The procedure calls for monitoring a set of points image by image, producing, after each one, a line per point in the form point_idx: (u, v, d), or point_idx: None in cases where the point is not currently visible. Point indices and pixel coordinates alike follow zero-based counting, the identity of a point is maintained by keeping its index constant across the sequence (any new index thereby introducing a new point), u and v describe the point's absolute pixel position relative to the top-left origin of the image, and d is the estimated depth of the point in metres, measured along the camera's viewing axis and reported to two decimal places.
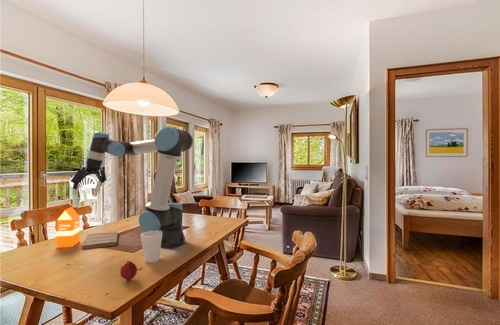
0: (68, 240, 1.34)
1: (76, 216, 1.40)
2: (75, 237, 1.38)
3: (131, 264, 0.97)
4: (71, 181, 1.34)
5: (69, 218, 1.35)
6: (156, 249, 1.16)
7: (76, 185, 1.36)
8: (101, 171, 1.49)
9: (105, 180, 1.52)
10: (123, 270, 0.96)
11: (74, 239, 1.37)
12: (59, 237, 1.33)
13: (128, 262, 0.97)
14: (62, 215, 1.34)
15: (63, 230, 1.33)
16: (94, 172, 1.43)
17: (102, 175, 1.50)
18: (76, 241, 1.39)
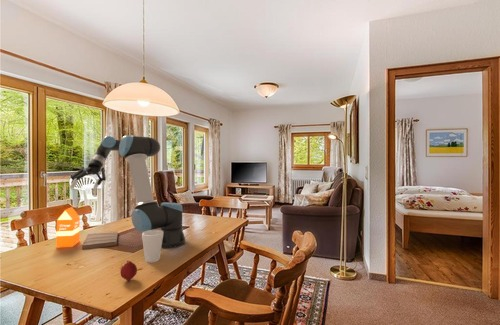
0: (68, 240, 1.34)
1: (76, 216, 1.40)
2: (75, 237, 1.38)
3: (131, 264, 0.97)
4: (71, 178, 1.56)
5: (69, 218, 1.35)
6: (156, 248, 1.16)
7: (73, 180, 1.54)
8: (102, 172, 1.61)
9: (103, 177, 1.56)
10: (123, 270, 0.96)
11: (74, 239, 1.37)
12: (59, 237, 1.33)
13: (128, 262, 0.97)
14: (62, 215, 1.34)
15: (63, 230, 1.33)
16: (92, 171, 1.60)
17: None
18: (76, 241, 1.39)
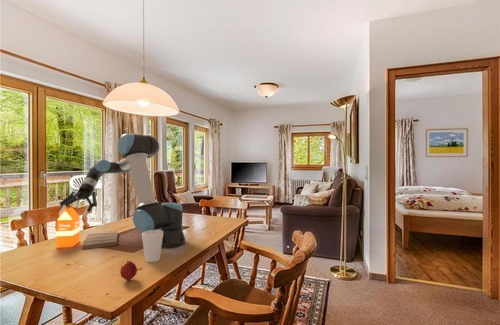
0: (68, 240, 1.34)
1: (76, 216, 1.40)
2: (75, 237, 1.38)
3: (131, 264, 0.97)
4: None
5: (69, 218, 1.35)
6: (157, 248, 1.16)
7: (62, 206, 1.45)
8: None
9: (93, 203, 1.47)
10: (123, 270, 0.96)
11: (74, 239, 1.37)
12: (59, 237, 1.33)
13: (128, 262, 0.97)
14: (62, 215, 1.34)
15: (63, 230, 1.33)
16: (82, 196, 1.51)
17: None
18: (76, 241, 1.39)
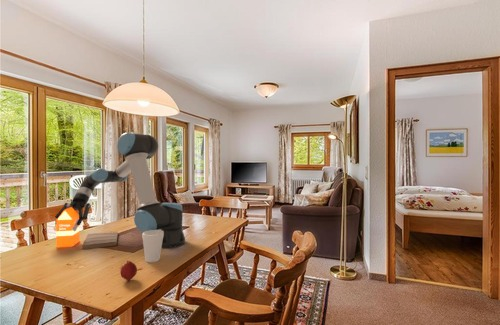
0: (67, 240, 1.34)
1: (76, 216, 1.40)
2: (75, 237, 1.38)
3: (131, 264, 0.97)
4: None
5: (69, 218, 1.35)
6: (157, 248, 1.16)
7: None
8: None
9: (83, 216, 1.40)
10: (123, 270, 0.96)
11: (74, 239, 1.37)
12: (59, 237, 1.33)
13: (128, 262, 0.97)
14: (62, 215, 1.34)
15: (63, 230, 1.34)
16: (77, 206, 1.44)
17: None
18: (76, 241, 1.39)
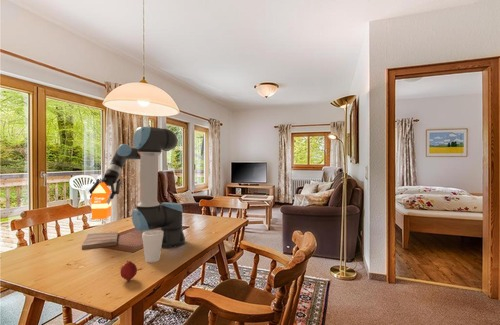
0: (102, 212, 1.40)
1: (109, 190, 1.46)
2: (108, 210, 1.44)
3: (131, 264, 0.97)
4: (90, 192, 1.46)
5: (103, 191, 1.41)
6: (157, 248, 1.16)
7: None
8: None
9: (116, 191, 1.46)
10: (123, 270, 0.96)
11: (108, 212, 1.43)
12: (94, 209, 1.39)
13: (128, 262, 0.97)
14: (96, 188, 1.40)
15: (98, 203, 1.40)
16: (108, 182, 1.50)
17: None
18: (109, 214, 1.45)
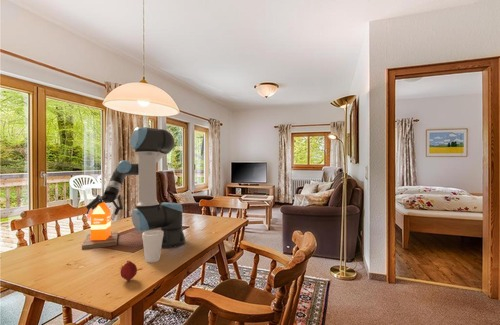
0: (101, 233, 1.40)
1: (108, 211, 1.46)
2: (107, 231, 1.44)
3: (131, 264, 0.97)
4: (87, 208, 1.47)
5: (102, 212, 1.41)
6: (157, 248, 1.16)
7: (89, 210, 1.44)
8: (118, 200, 1.51)
9: (120, 206, 1.47)
10: (123, 270, 0.96)
11: (107, 232, 1.43)
12: (93, 230, 1.39)
13: (128, 262, 0.97)
14: (96, 209, 1.40)
15: (97, 224, 1.40)
16: (108, 199, 1.50)
17: (119, 203, 1.49)
18: (108, 235, 1.46)
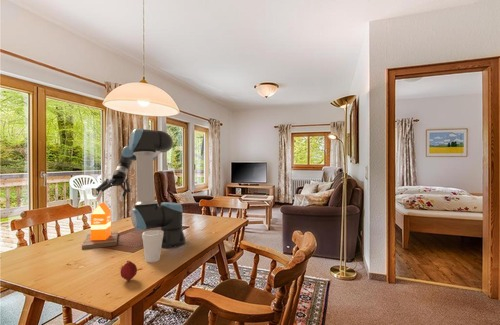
0: (101, 233, 1.40)
1: (108, 211, 1.46)
2: (107, 231, 1.44)
3: (131, 264, 0.97)
4: None
5: (102, 212, 1.41)
6: (157, 248, 1.16)
7: (98, 192, 1.55)
8: (126, 183, 1.62)
9: (128, 189, 1.57)
10: (123, 270, 0.96)
11: (107, 232, 1.43)
12: (93, 230, 1.39)
13: (128, 262, 0.97)
14: (96, 209, 1.40)
15: (97, 224, 1.40)
16: (116, 182, 1.61)
17: None
18: (108, 235, 1.46)
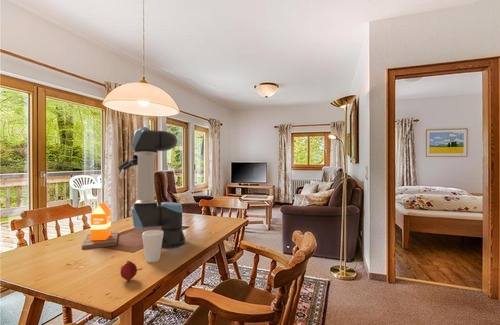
0: (101, 233, 1.40)
1: (108, 211, 1.46)
2: (107, 231, 1.44)
3: (131, 264, 0.97)
4: (119, 169, 1.66)
5: (102, 212, 1.41)
6: (157, 248, 1.16)
7: (121, 170, 1.64)
8: None
9: None
10: (123, 270, 0.96)
11: (107, 232, 1.43)
12: (93, 230, 1.39)
13: (128, 262, 0.97)
14: (96, 209, 1.40)
15: (97, 224, 1.40)
16: (137, 162, 1.69)
17: None
18: (108, 235, 1.46)
